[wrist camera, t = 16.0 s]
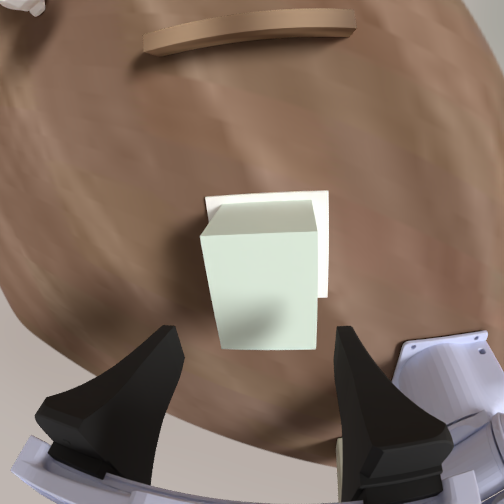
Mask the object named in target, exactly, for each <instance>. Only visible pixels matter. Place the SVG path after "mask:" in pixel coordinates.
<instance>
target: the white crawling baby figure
mask: <svg viewBox="0 0 504 504" xmlns="http://www.w3.org/2000/svg"><path fill="white" fill-rule="evenodd" d="M0 4H1V5H2V6H4V7H6V8H9V9H14V10H22V11H30V13H31V14H32V15H33V16H35V17H36V16H39V15H40V14H41V13H42V12H43V11H44V10H45V0H0Z"/></svg>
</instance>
